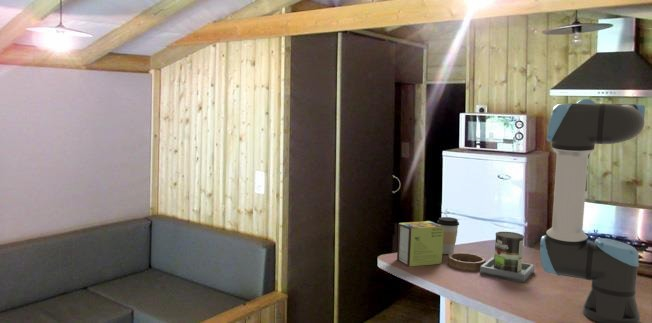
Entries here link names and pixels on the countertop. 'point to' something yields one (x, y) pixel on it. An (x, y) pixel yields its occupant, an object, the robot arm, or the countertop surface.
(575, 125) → the robot arm
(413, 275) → the countertop surface
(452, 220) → the coffee cup
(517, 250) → the coffee can
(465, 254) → the holder ring
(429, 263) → the protein box
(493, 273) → the tray
